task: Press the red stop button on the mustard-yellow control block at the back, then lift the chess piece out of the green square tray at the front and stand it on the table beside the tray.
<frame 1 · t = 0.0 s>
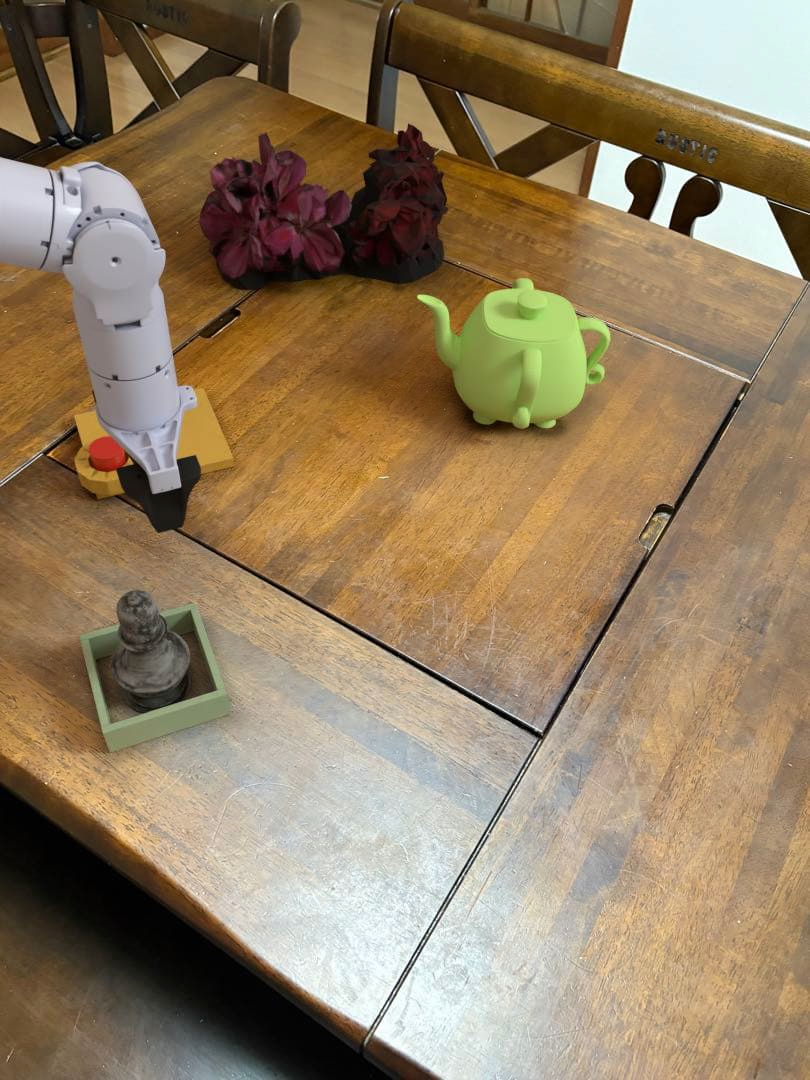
hand: (157, 492, 72), 10 cm above the table, tool pointing down, fingers open, 7 cm apart
teapot: (502, 399, 98), on the table
green square tray: (157, 684, 72), on the table
chess piece: (157, 686, 72), resting in green square tray
control block: (154, 445, 90), on the table
flower arrangement: (331, 258, 113), on the table
stop button: (107, 454, 84), point 3 cm above the table, slide at 0.1 cm
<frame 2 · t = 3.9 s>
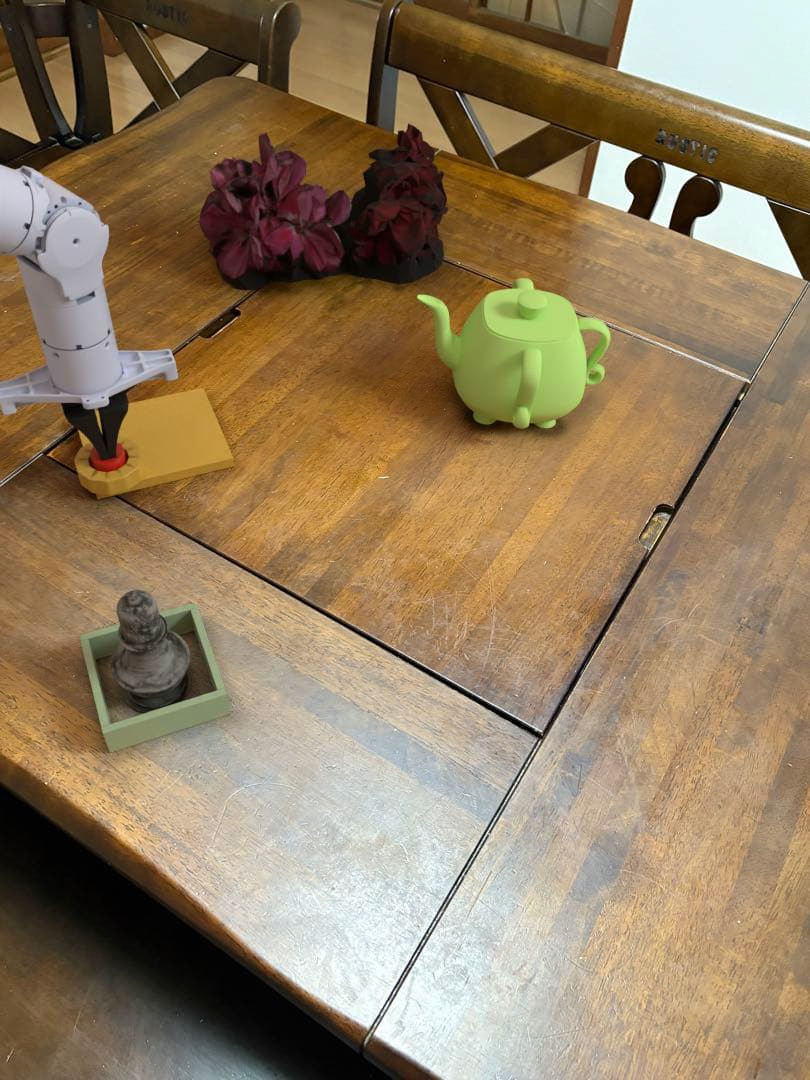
hand: (107, 452, 83), 4 cm above the table, tool pointing down, fingers closed, pressing on stop button
stop button: (108, 458, 84), point 3 cm above the table, slide at -0.5 cm, touching gripper
everything else where it was.
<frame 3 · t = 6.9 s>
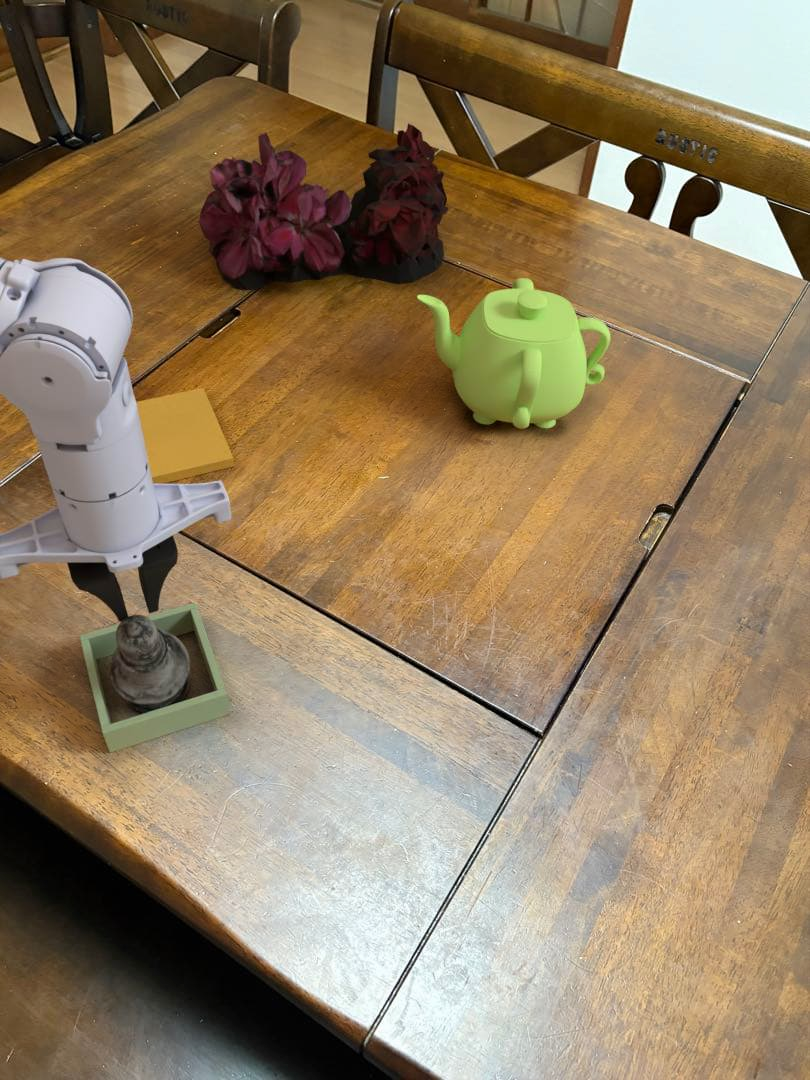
hand: (136, 605, 64), 10 cm above the table, tool pointing down, fingers closed
chess piece: (156, 682, 72), resting in green square tray, touching gripper
stop button: (107, 454, 84), point 3 cm above the table, slide at 0.1 cm
everything else where it was.
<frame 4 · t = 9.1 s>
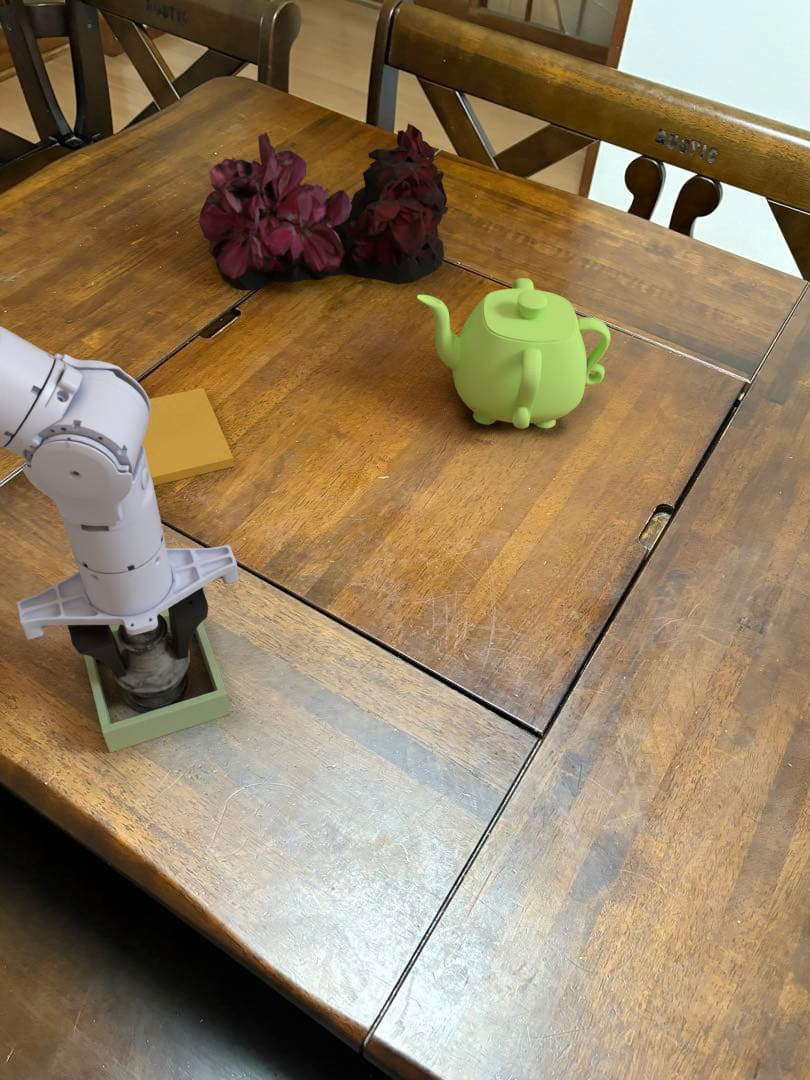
hand: (149, 657, 69), 4 cm above the table, tool pointing down, fingers closed on chess piece, 4 cm apart
chess piece: (157, 686, 72), resting in green square tray, touching gripper
everything else where it was.
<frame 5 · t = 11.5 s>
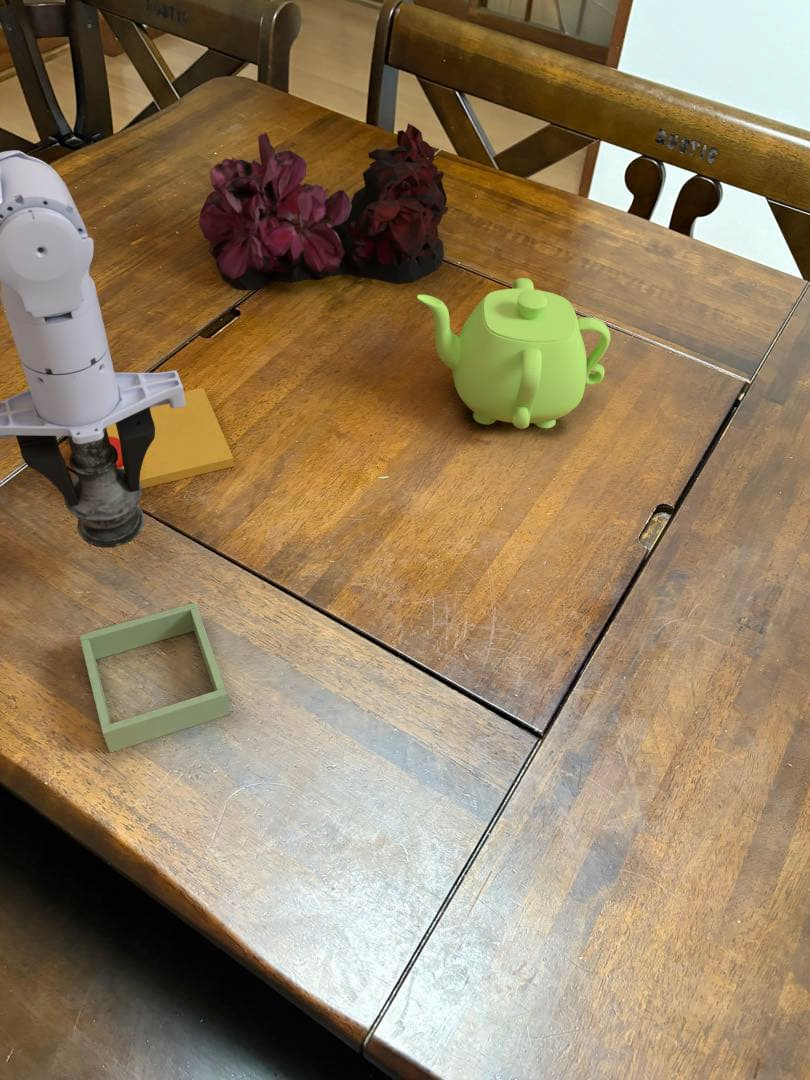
hand: (102, 489, 71), 10 cm above the table, tool pointing down, fingers closed on chess piece, 4 cm apart
chess piece: (111, 524, 74), point 6 cm above the table, touching gripper
everything else where it was.
when the fingers open (4 cm above the table, at t = 13.7 s): chess piece stays where it is, on the table.
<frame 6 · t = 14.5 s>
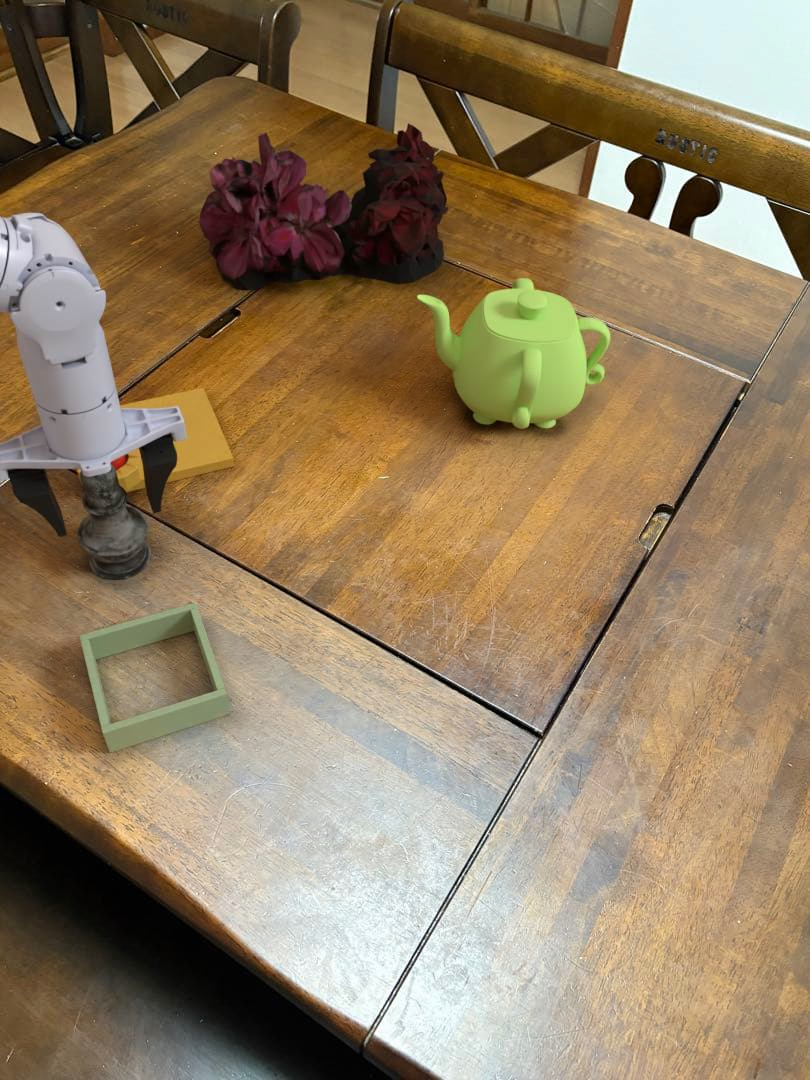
hand: (108, 515, 76), 5 cm above the table, tool pointing down, fingers open, 7 cm apart
chess piece: (120, 557, 80), on the table
everything else where it was.
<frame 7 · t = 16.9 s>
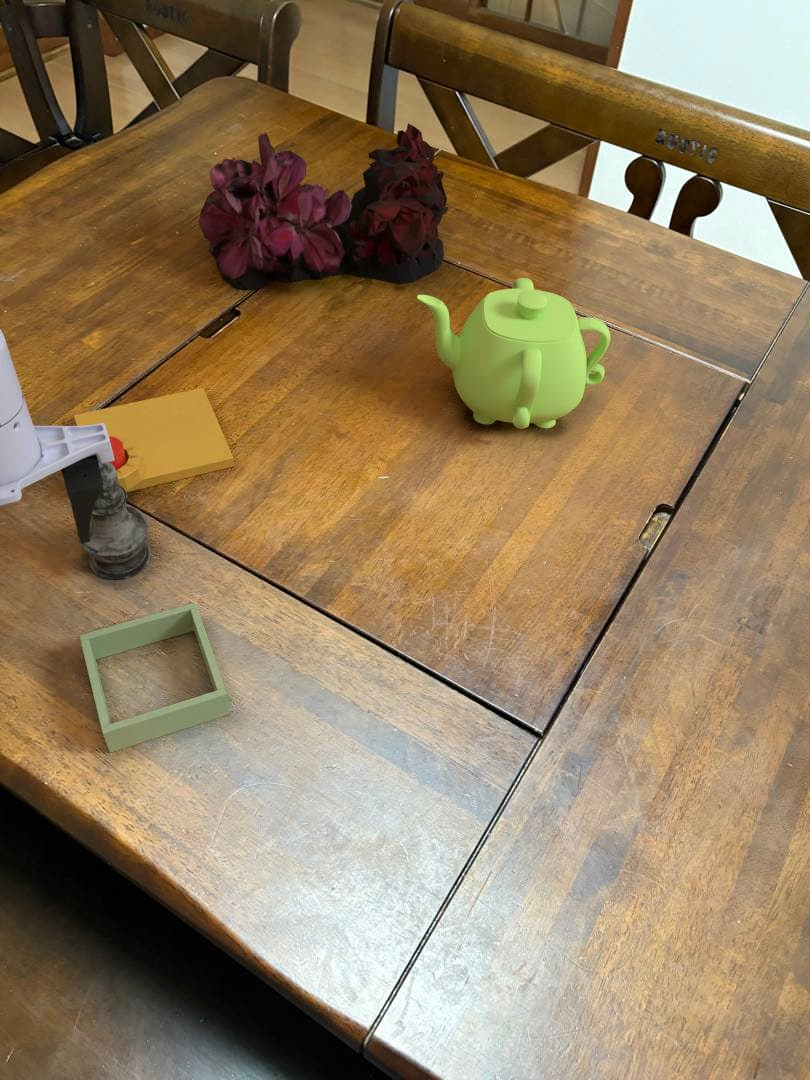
hand: (30, 546, 67), 10 cm above the table, tool pointing down, fingers open, 7 cm apart
nothing on the table moved.
at the end: stop button pushed in 1.2 cm at the most during the clip, back to where it started at the end; chess piece inside the target area (0.0 cm from its centre), on the table; chess piece tilted 0° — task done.
